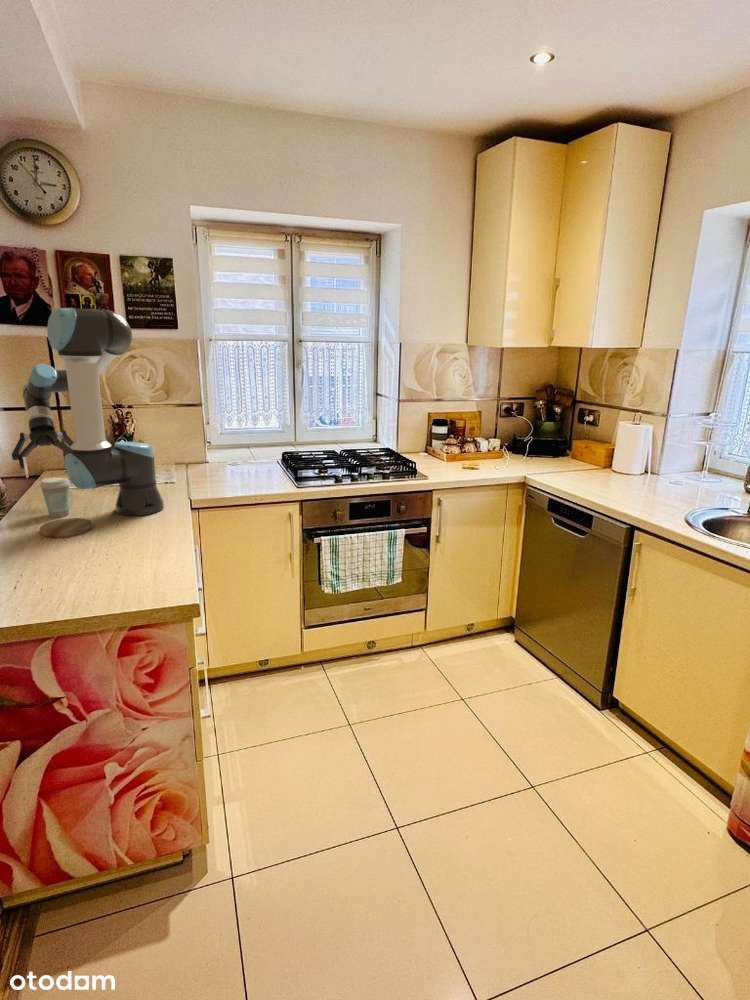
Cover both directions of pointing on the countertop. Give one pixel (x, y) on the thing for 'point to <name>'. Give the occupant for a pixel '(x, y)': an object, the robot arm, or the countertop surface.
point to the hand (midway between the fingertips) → (51, 473)
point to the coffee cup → (56, 495)
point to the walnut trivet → (65, 527)
